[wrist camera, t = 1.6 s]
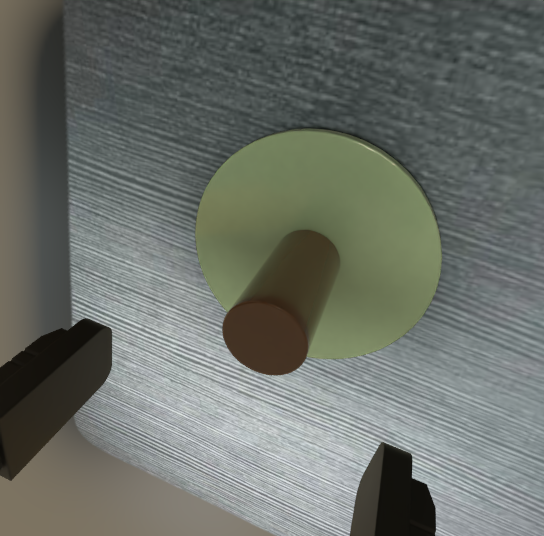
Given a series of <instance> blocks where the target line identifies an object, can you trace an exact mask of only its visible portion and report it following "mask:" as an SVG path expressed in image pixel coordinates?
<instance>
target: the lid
mask: <svg viewBox="0 0 544 536" xmlns="http://www.w3.org/2000/svg"><path fill="white" fill-rule="evenodd" d="M195 238H196V249H197V254H198V259H199V263H200V266H201V269H202V272H203V275H204V277H205V279H206V281H207V283H208V285H209V287H210V289H211V291H212V292H213V294H214V296H215V297H216V299H217V300H218V301H219V303H220V304H221V305H222V307H223V308H224V309H225V310H226V312H227V314H226V316H225V318H224V321H223V327H222V331H223V338H224V341H225V343H226V345H227V347H228V349H229V351H230V352H231V353H232V355H233V356H234V357H235V358H236V359H237V360H238V361H239V362H240V363H242V364H243V365H245V366H246V367H248V368H250V369H251V370H254V371H256V372H259V373H262V374H266V375H284V374H288V373H291V372H293V371H295V370H296V369H297V368H299V367H300V366H301V365H302V364H303V362H304V361H305V359H306V357H311V358H319V359H343V358H352V357H357V356H362V355H366V354H369V353H372V352H375V351H377V350H380V349H382V348H384V347H386V346H388V345H390V344H392V343H393V342H395V341H396V340H398V339H399V338H401V337H402V336H403V335H405V334H406V333H407V332H408V331H409V330H410V329H411V328H413V327H414V326H415V324H416V323H417V322H418V321H419V320H420V318H421V317H422V316H423V315H424V313H425V312H426V310H427V308H428V307H429V305H430V303H431V302H432V299H433V297H434V294H435V292H436V290H437V286H438V282H439V278H440V274H441V264H442V249H441V236H440V232H439V227H438V223H437V219H436V217H435V214H434V211H433V209H432V206H431V204H430V202H429V200H428V199H427V197H426V195H425V193H424V192H423V190H422V188H421V187H420V186H419V184H418V183H417V182H416V181H415V179H414V178H413V177H412V175H411V174H410V173H409V172H408V171H407V170H406V169H405V168H404V167H403V166H402V165H401V164H400V163H398V162H397V161H396V160H395V159H394V158H392V157H391V156H389V155H388V154H387V153H385V152H384V151H383V150H381V149H379V148H378V147H376V146H374V145H372V144H370V143H368V142H366V141H364V140H362V139H359V138H356V137H354V136H351V135H348V134H345V133H340V132H336V131H331V130H324V129H311V128H307V129H292V130H287V131H282V132H277V133H274V134H271V135H268V136H265V137H263V138H260V139H258V140H256V141H254V142H252V143H250V144H249V145H247V146H245V147H243V148H242V149H240V150H239V151H238V152H236V153H235V154H234V155H232V156H231V157H230V158H228V159H227V160H226V161H225V162H224V164H223V165H222V166H221V167H220V168H219V169H218V170H217V171H216V173H215V174H214V176H213V177H212V178H211V180H210V181H209V183H208V185H207V187H206V189H205V191H204V193H203V195H202V198H201V201H200V204H199V208H198V213H197V218H196V230H195Z"/></svg>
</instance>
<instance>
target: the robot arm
mask: <svg viewBox="0 0 544 536" xmlns="http://www.w3.org/2000/svg"><path fill="white" fill-rule="evenodd" d="M111 367H112V330H111V328H109V327H107V326H105V325H102V324H100V323H97V322H95V321H92V320H90V319H87V318H85V319H82V320H80V321H79V322H78V323H76V324H75V325H74V326H73V327H71V328H70V329H69V330H68V331H67V330H64V329H62V328H61V329H59V330H56V331H53V332H51V333H48V334H46V335H43V336H41V337H40V338H39V339H37V340H36V341H35V342H33V343H32V344H31V345H29V346H28V347H27V348H25V351H21V352H20V353H19V354H18V355H16V356H15V357H13V358H12V360H11V361H8V362H7V363H6V364H4V365H3V366H2V367H0V475H1V476H2V477H4V478H6V479H8V480H10V481H11V480H12V479H13V478H14V477H15V476H16V475H17V474H18V473H19V472H20V471H21V470H22V469H23V468H24V467H25V466H26V464H28V462H29V461H30V460H31V459H32V458H33V457H34V456H35V455H36V454H37V453H38V452H39V451H40V450H41V449H42V448H43V446H45V445H46V443H48V442H49V440H50V439H51V438H52V437H53V436H54V435H55V434H56V433H57V432H58V431H59V430H60V429H61V428H62V427H63V426H64V425H65V424H66V423H67V421H68V420H69V419H70V418H71V417H72V416H73V415H74V414H75V413H76V412H77V411H78V410H79V409H80V408H81V407H82V406H83V405H84V404H85V403H86V402H87V401H88V400H89V399H90V397H91V396H92V395H93V394H94V393H95V392H96V391H97V390H98V389H99V388H100V387H101V386H102V385H103V384H104V382H105V381H106V379H107V377H108V375H109V373H110V371H111ZM435 532H436V512H435V505H434V503H433V500H432V497H431V495H430V492H429V489H428V487H427V484H424V483H422V482H420V481H417V480H415V479H413V478H412V455H411V454H410V453H408V452H406V451H403V450H401V449H398V448H396V447H394V446H391V445H389V444H386V443H384V442H382V443H381V444H380V445H379V447H378V449H377V451H376V452H375V454H374V456H373V458H372V460H371V461H370V463H369V465H368V467H367V469H366V470H365V472H364V474H363V476H362V479H361V481H360V484H359V487H358V491H357V495H356V500H355V506H354V513H353V519H352V525H351V531H350V536H435Z"/></svg>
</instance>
